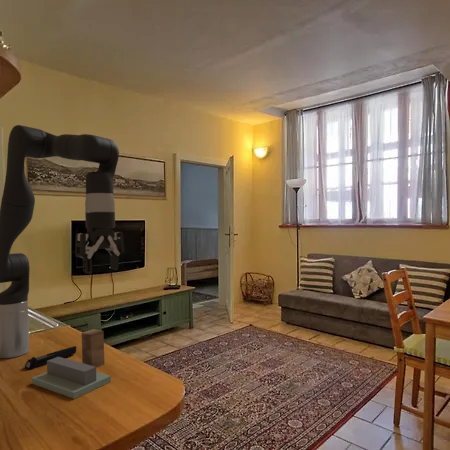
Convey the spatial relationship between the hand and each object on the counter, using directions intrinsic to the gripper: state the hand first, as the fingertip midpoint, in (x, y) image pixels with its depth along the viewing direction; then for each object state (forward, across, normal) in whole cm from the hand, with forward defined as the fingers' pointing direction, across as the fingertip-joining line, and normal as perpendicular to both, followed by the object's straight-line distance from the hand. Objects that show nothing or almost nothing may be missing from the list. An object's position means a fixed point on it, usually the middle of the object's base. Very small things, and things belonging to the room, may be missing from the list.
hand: (101, 271), depth 97 cm
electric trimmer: (+30, -2, -27) cm, 40 cm away
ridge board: (+29, +5, -7) cm, 30 cm away
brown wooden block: (+29, -6, -12) cm, 32 cm away
